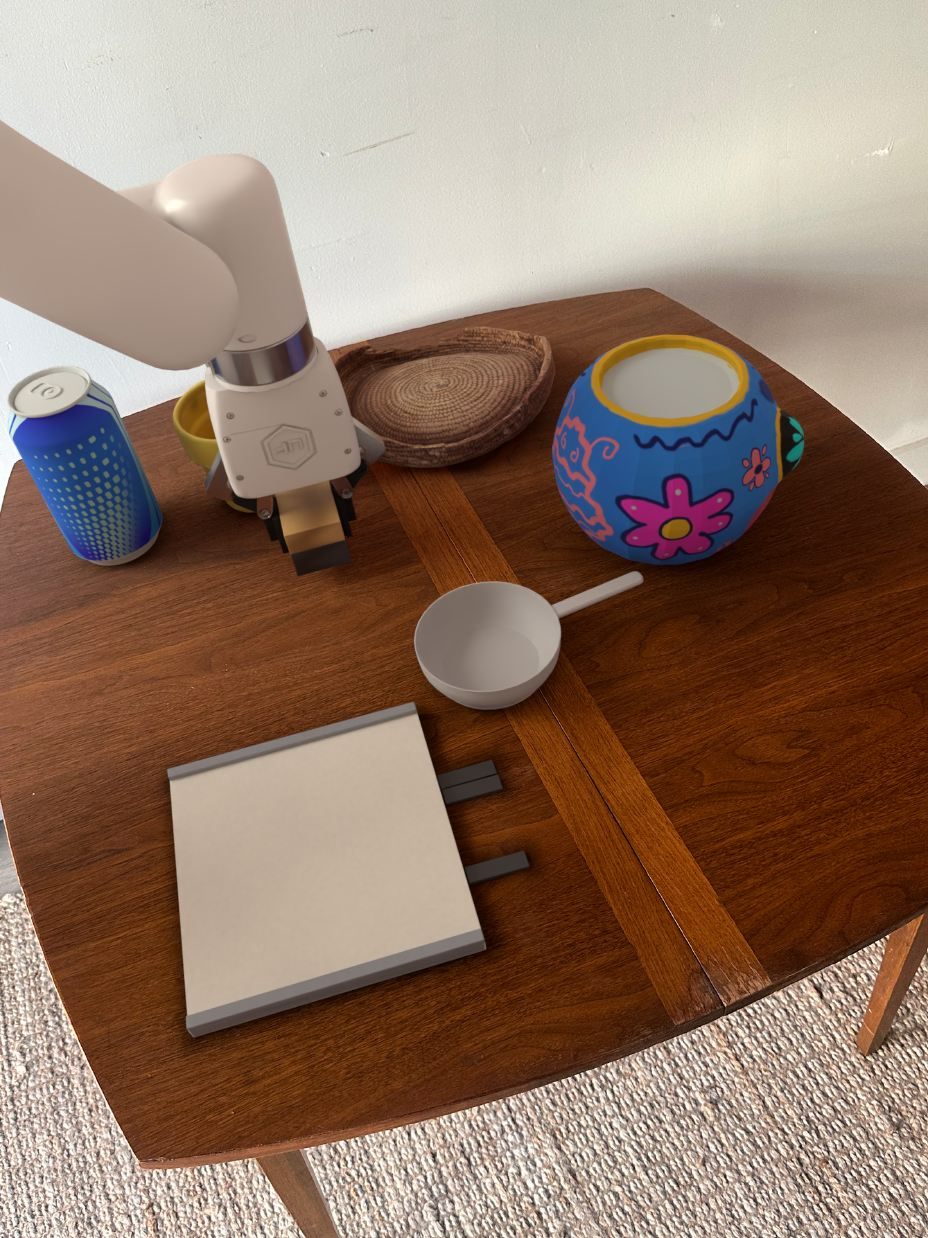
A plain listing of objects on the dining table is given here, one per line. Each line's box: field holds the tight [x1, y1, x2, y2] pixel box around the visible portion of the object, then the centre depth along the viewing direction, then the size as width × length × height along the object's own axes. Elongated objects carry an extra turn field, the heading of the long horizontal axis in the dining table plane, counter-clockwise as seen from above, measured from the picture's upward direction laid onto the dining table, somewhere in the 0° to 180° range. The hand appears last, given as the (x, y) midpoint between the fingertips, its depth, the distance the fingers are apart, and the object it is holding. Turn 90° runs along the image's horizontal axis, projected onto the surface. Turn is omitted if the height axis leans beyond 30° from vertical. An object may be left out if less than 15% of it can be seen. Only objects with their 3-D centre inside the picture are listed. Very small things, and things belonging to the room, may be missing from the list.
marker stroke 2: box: [441, 774, 504, 807], centre depth 70 cm, size 4×1×1 cm, turn 104°
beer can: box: [6, 365, 163, 567], centre depth 85 cm, size 8×8×16 cm
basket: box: [332, 326, 556, 469], centre depth 97 cm, size 22×20×5 cm
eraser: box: [275, 480, 352, 577], centre depth 84 cm, size 4×8×4 cm, turn 15°
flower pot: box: [172, 379, 276, 514], centre depth 90 cm, size 10×10×10 cm
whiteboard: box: [167, 701, 487, 1038], centre depth 67 cm, size 18×19×1 cm
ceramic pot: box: [551, 334, 806, 566], centre depth 80 cm, size 18×18×15 cm
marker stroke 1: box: [436, 759, 498, 791], centre depth 71 cm, size 4×1×1 cm, turn 105°
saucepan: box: [413, 570, 644, 711], centre depth 76 cm, size 11×18×4 cm, turn 112°
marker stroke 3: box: [464, 850, 530, 886], centre depth 65 cm, size 4×1×1 cm, turn 104°
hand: (315, 532), depth 85 cm, fingers closed on eraser, 4 cm apart
